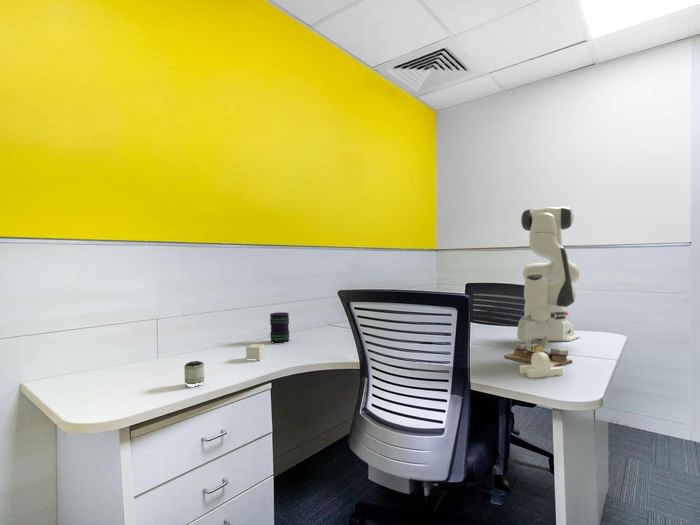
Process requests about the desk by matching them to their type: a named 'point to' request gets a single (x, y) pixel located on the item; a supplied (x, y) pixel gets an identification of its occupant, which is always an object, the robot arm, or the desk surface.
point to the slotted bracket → (540, 366)
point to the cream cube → (255, 351)
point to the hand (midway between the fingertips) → (536, 348)
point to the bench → (526, 355)
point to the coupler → (537, 348)
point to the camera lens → (194, 372)
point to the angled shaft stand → (559, 354)
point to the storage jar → (279, 327)
